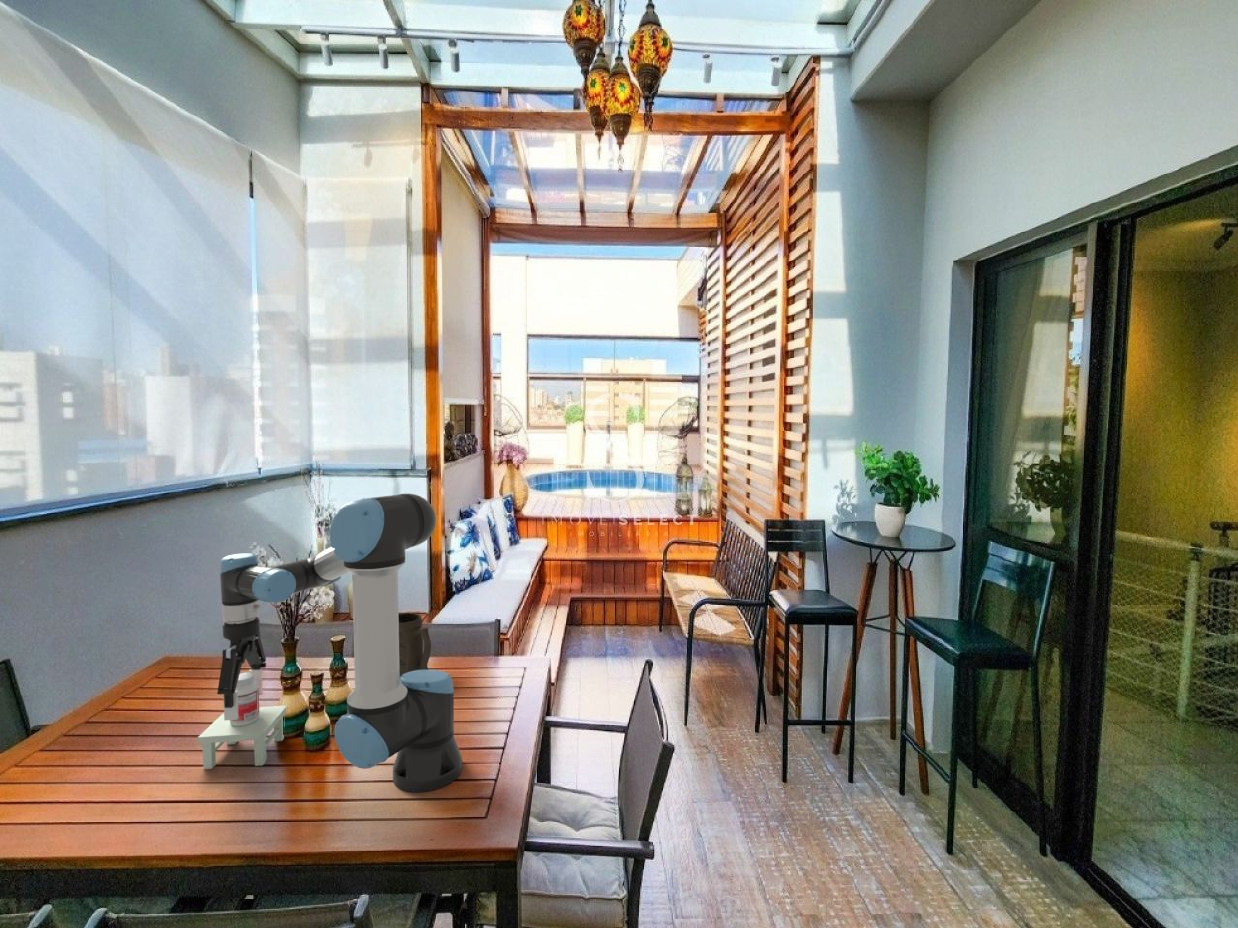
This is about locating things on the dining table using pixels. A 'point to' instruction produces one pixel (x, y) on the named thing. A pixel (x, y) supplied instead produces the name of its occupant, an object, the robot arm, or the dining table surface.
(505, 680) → the dining table surface
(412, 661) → the beer stein
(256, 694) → the pill bottle
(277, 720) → the footstool
